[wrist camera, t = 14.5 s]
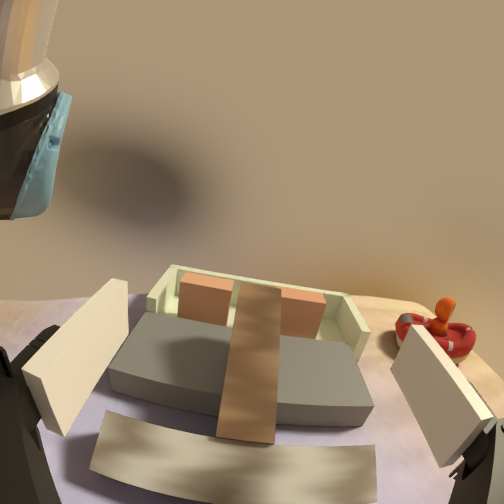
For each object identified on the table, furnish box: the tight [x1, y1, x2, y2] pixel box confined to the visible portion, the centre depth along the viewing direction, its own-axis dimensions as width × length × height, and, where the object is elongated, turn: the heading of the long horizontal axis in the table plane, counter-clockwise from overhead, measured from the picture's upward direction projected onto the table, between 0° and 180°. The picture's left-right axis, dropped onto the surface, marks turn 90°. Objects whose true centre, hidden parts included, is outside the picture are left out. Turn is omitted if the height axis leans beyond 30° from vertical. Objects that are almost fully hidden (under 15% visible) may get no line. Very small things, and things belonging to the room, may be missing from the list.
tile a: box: [177, 272, 234, 327], centre depth 29 cm, size 5×5×2 cm
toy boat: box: [395, 297, 476, 364], centre depth 31 cm, size 8×12×8 cm, turn 67°
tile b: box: [275, 286, 327, 339], centre depth 30 cm, size 5×5×2 cm
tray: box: [146, 264, 371, 363], centre depth 32 cm, size 22×9×4 cm, turn 88°
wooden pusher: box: [89, 282, 377, 504], centre depth 18 cm, size 16×3×16 cm
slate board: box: [108, 310, 374, 427], centre depth 23 cm, size 20×9×2 cm, turn 88°
